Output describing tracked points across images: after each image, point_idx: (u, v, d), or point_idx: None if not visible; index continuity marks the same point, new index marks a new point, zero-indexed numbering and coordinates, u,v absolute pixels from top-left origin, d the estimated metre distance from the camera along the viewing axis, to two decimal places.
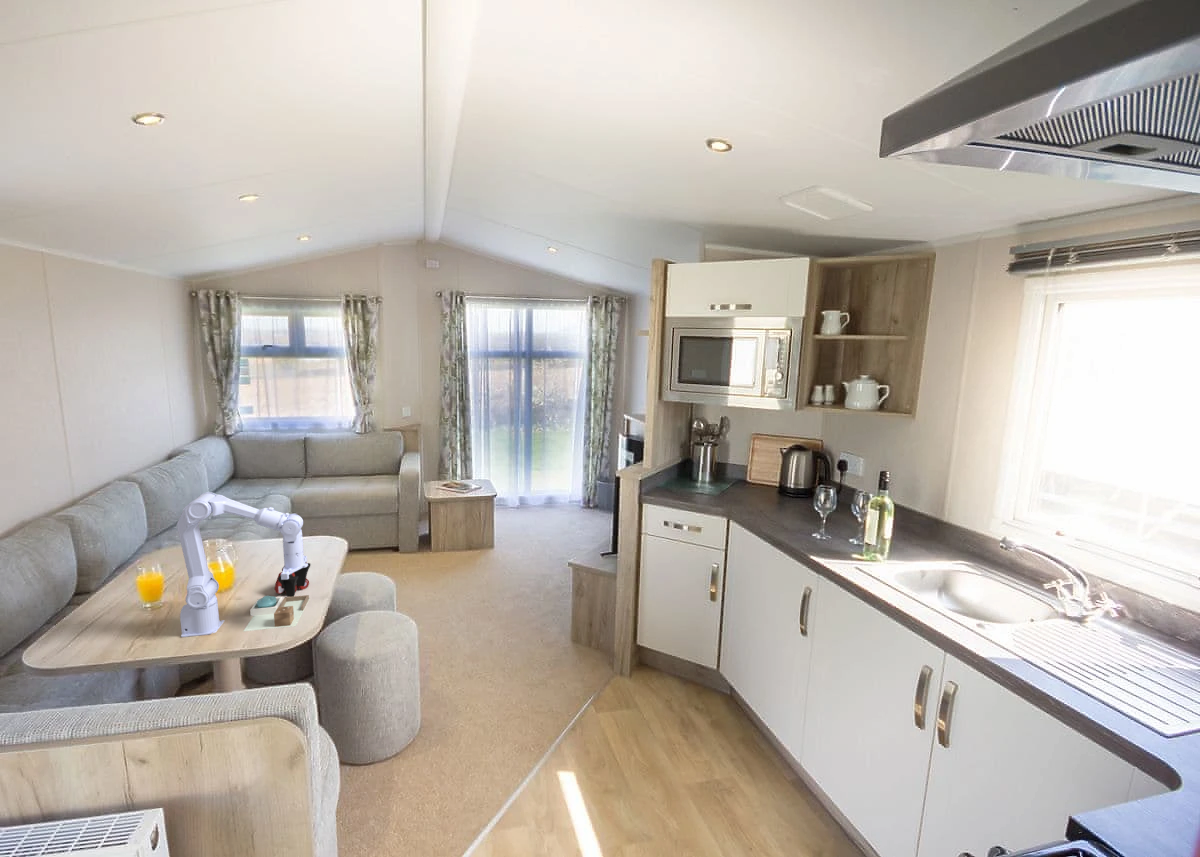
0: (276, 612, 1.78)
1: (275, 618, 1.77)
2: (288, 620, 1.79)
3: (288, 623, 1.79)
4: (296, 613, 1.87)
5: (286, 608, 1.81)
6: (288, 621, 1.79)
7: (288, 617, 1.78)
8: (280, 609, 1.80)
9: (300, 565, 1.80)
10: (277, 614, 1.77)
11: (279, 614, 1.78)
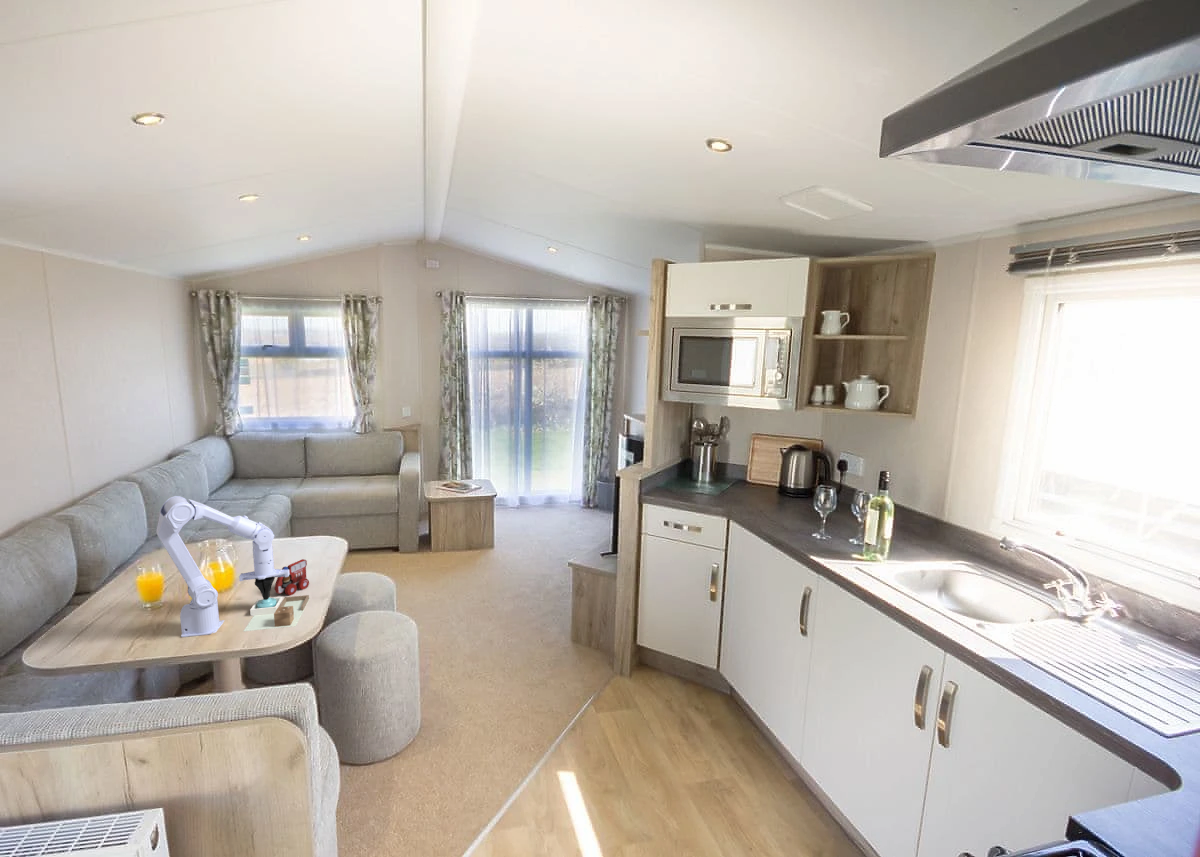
0: (276, 612, 1.78)
1: (275, 618, 1.77)
2: (288, 620, 1.79)
3: (288, 623, 1.79)
4: (296, 613, 1.87)
5: (286, 608, 1.81)
6: (288, 621, 1.79)
7: (288, 617, 1.78)
8: (280, 609, 1.80)
9: (257, 575, 1.84)
10: (277, 614, 1.77)
11: (279, 614, 1.78)
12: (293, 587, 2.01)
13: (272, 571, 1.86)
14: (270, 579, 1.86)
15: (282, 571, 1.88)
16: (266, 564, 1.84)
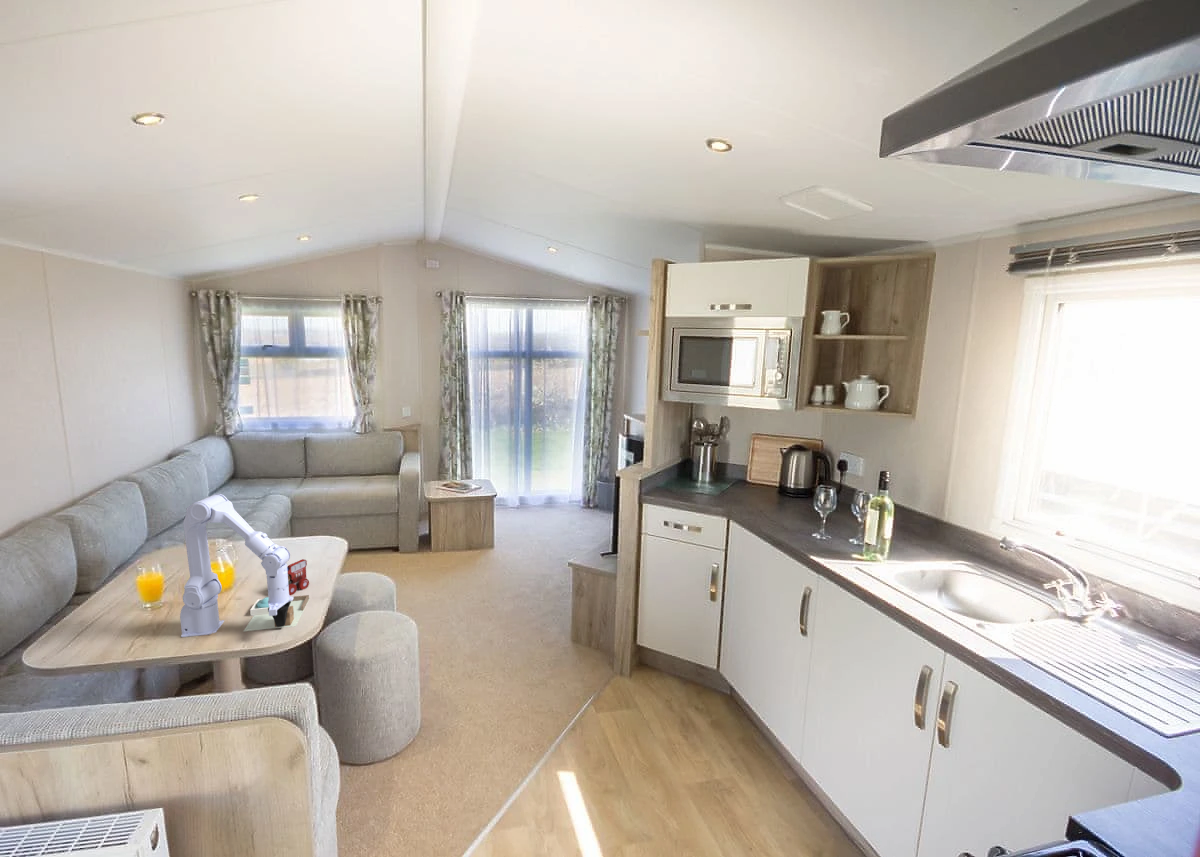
0: None
1: None
2: (288, 620, 1.79)
3: (288, 623, 1.79)
4: (296, 613, 1.87)
5: None
6: (288, 621, 1.79)
7: (288, 617, 1.78)
8: None
9: (286, 599, 1.74)
10: None
11: None
12: (293, 587, 2.01)
13: None
14: None
15: None
16: None
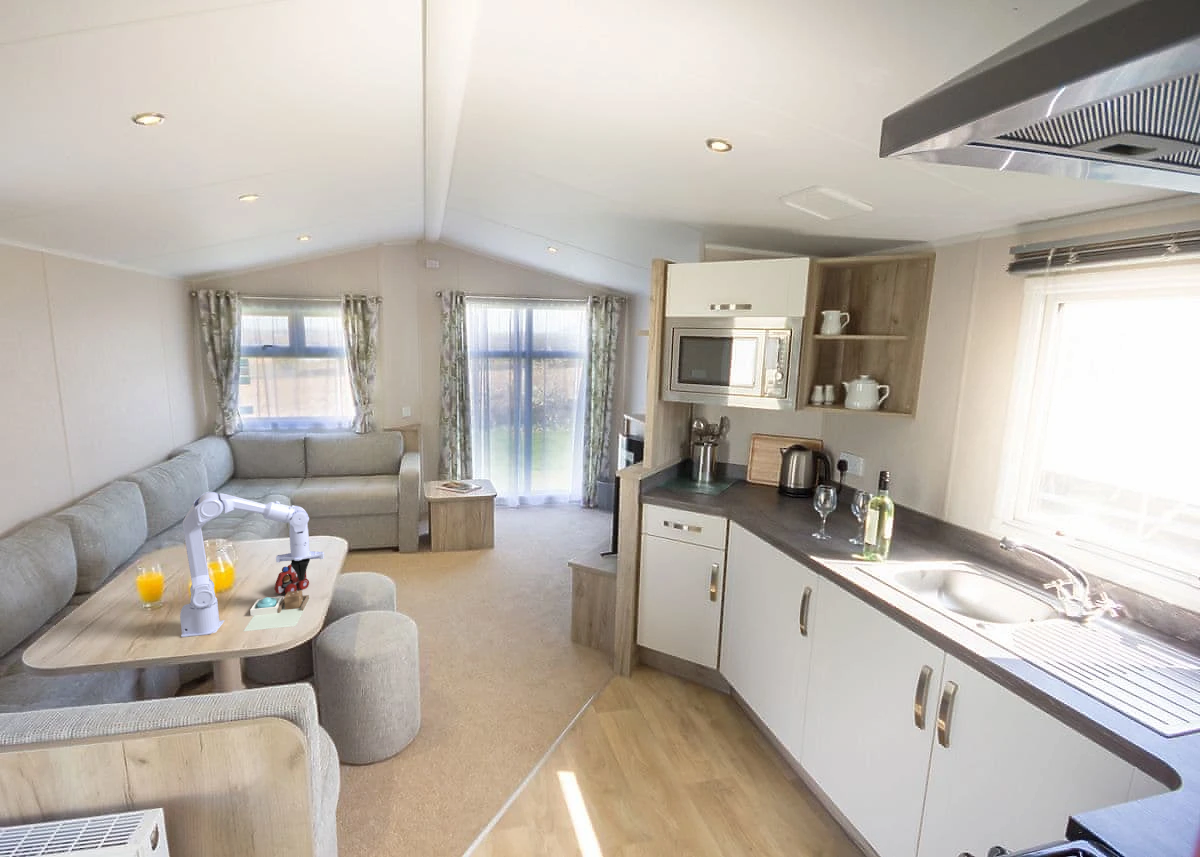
0: (286, 596, 1.89)
1: (285, 601, 1.88)
2: (297, 603, 1.90)
3: (297, 606, 1.90)
4: (296, 613, 1.87)
5: (295, 592, 1.92)
6: (297, 604, 1.90)
7: (297, 600, 1.89)
8: (290, 593, 1.91)
9: (293, 556, 1.87)
10: (287, 597, 1.88)
11: (289, 598, 1.89)
12: (293, 587, 2.01)
13: (308, 553, 1.89)
14: (306, 561, 1.89)
15: (317, 553, 1.91)
16: (302, 546, 1.87)
